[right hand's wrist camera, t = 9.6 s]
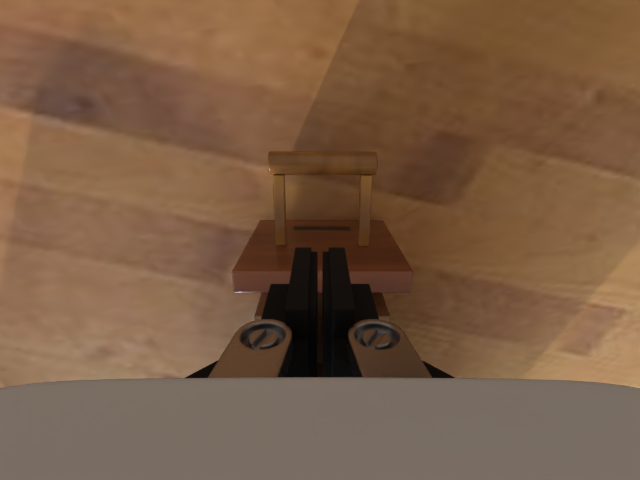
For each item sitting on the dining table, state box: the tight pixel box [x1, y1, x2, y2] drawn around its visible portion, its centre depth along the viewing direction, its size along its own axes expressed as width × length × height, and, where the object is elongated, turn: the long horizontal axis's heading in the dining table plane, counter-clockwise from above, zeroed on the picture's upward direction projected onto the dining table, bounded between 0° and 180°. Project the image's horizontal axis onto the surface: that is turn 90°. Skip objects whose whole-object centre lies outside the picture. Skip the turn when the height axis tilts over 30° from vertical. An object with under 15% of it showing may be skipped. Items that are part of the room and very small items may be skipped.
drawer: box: [232, 152, 413, 377], centre depth 23 cm, size 18×9×9 cm, turn 0°
